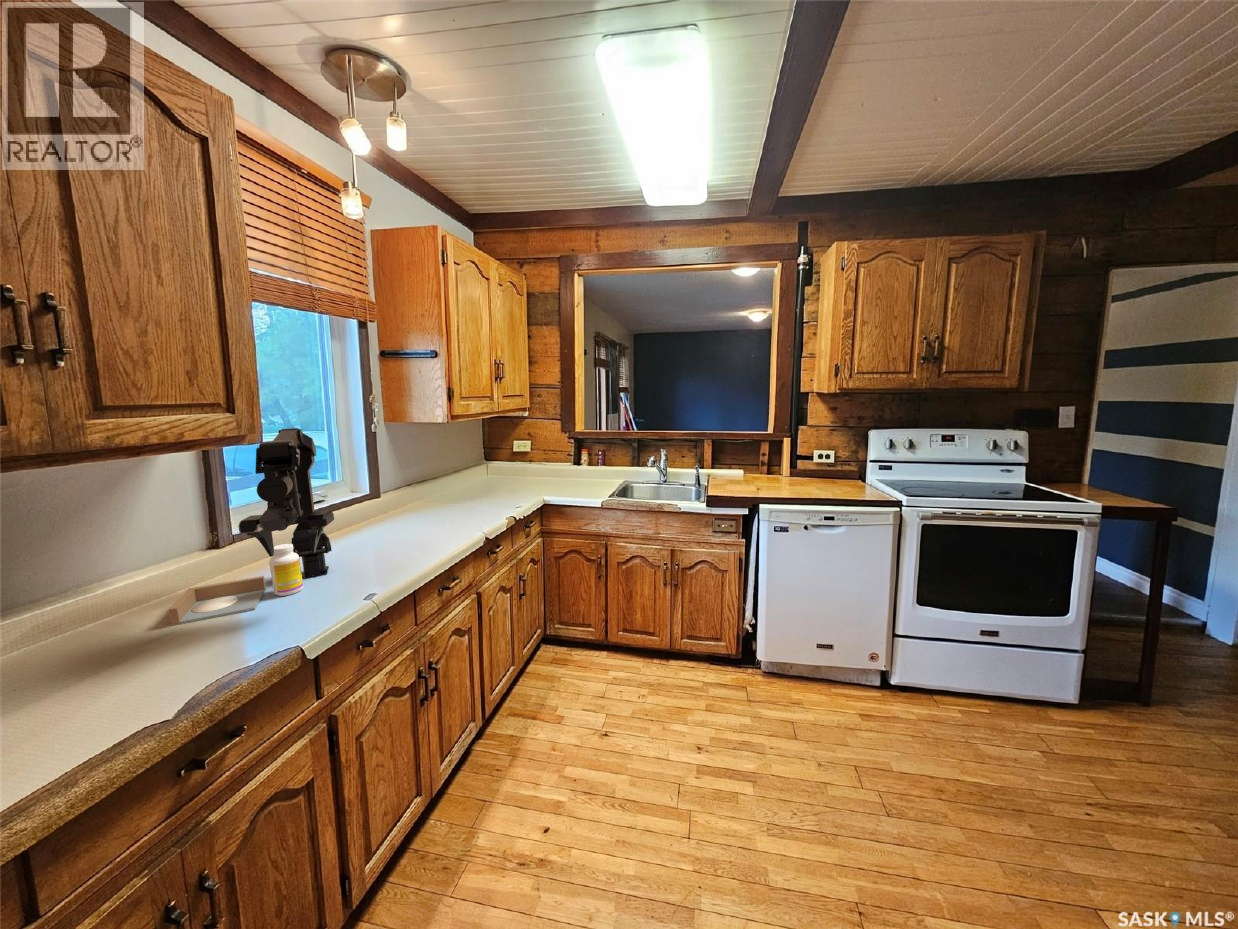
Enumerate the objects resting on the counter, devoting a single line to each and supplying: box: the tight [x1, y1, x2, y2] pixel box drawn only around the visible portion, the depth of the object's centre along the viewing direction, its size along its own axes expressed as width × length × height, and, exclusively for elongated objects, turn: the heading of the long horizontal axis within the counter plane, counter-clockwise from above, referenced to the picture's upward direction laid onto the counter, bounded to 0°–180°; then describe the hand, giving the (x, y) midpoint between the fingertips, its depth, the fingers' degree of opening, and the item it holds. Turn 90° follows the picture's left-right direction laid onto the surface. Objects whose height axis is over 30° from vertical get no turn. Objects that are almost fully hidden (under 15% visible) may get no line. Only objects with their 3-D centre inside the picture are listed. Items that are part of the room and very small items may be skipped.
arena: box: [168, 575, 267, 627], centre depth 122 cm, size 14×16×4 cm
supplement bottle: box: [268, 543, 304, 597], centre depth 129 cm, size 7×7×13 cm
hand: (293, 554), depth 118 cm, fingers open, 9 cm apart
